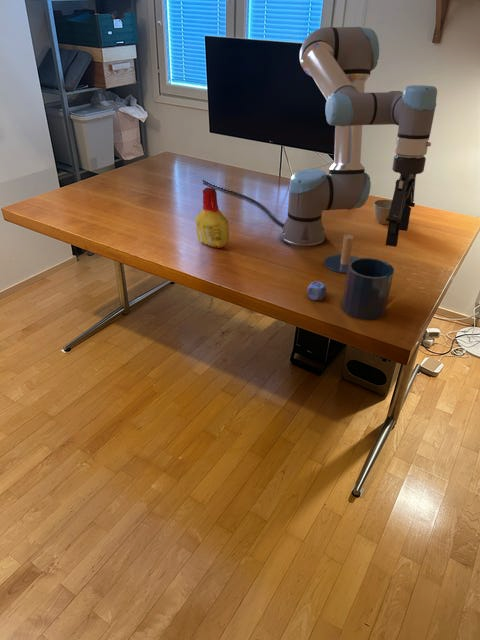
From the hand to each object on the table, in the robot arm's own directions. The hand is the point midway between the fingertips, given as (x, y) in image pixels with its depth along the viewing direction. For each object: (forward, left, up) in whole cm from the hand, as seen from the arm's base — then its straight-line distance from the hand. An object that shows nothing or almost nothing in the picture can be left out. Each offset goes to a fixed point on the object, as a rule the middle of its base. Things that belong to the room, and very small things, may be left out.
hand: (396, 237), depth 129 cm
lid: (-18, +7, -17) cm, 26 cm away
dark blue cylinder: (-1, -11, -18) cm, 21 cm away
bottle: (-60, -10, -18) cm, 63 cm away
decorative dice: (-14, -15, -18) cm, 27 cm away
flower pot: (-26, +49, -18) cm, 58 cm away
